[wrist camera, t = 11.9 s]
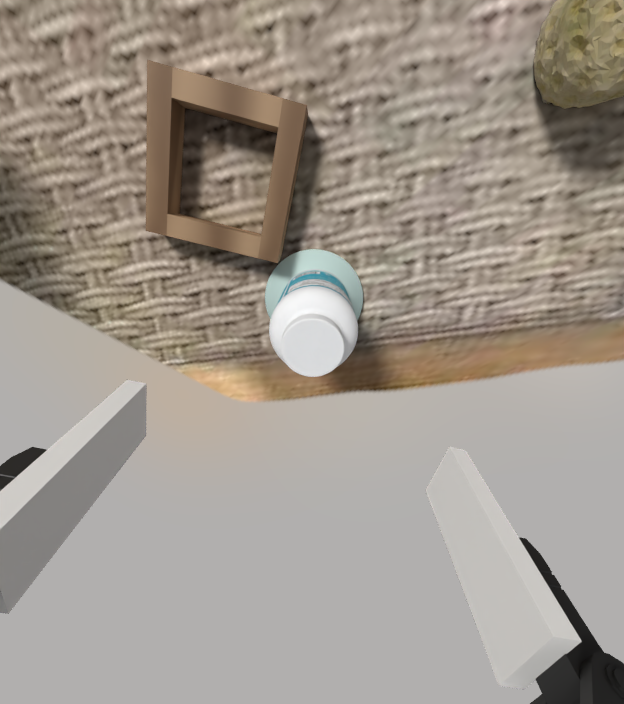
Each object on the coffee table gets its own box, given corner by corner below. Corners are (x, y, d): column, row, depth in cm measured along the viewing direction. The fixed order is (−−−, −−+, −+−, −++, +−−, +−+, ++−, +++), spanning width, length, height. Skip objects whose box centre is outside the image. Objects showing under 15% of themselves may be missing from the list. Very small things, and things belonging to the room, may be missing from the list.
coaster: (258, 332, 37) (257, 334, 36) (275, 237, 32) (274, 238, 32) (347, 353, 38) (347, 354, 37) (375, 263, 33) (376, 263, 33)
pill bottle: (317, 344, 37) (313, 410, 24) (269, 302, 35) (239, 352, 23) (362, 299, 34) (384, 348, 22) (314, 252, 32) (308, 276, 20)
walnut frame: (159, 229, 32) (145, 230, 30) (163, 74, 27) (147, 59, 24) (280, 259, 33) (277, 263, 31) (308, 114, 28) (306, 105, 25)
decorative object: (511, 29, 28) (512, 52, 22) (678, -133, 20) (742, -159, 15) (555, 119, 31) (565, 158, 26) (713, 9, 24) (775, 32, 18)
